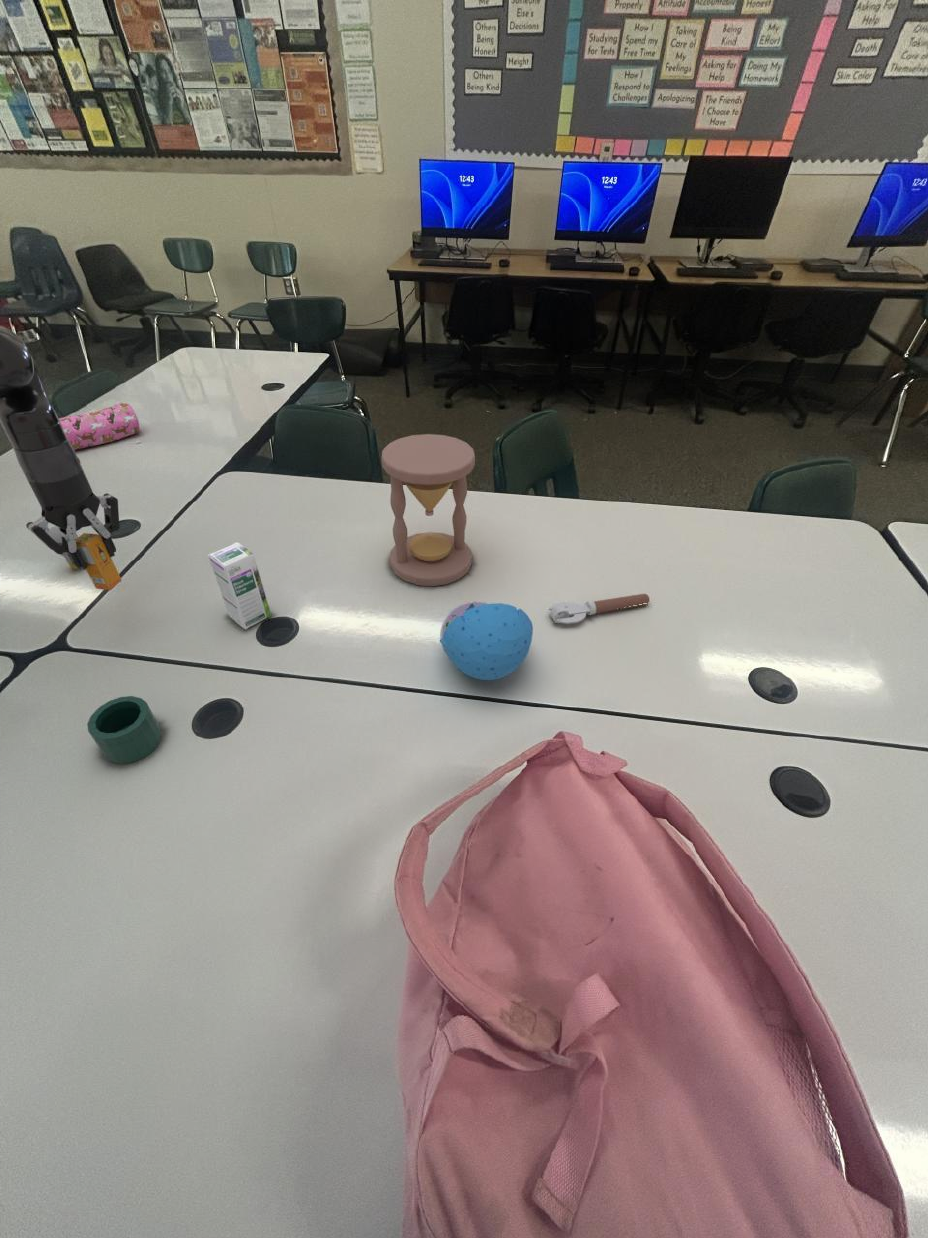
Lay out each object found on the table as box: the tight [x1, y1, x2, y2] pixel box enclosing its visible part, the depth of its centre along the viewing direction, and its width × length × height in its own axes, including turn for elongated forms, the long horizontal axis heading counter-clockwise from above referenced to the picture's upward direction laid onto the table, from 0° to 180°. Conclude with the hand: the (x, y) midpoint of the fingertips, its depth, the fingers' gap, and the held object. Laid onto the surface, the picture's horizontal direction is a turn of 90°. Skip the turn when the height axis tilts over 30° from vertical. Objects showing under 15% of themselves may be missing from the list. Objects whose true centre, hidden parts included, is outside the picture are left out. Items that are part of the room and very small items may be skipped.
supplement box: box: [76, 532, 123, 591], centre depth 98 cm, size 3×3×10 cm
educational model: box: [439, 601, 534, 681], centre depth 94 cm, size 16×19×15 cm
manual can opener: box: [548, 593, 650, 625], centre depth 109 cm, size 20×6×3 cm, turn 111°
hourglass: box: [381, 433, 476, 587], centre depth 113 cm, size 18×18×25 cm
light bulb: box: [47, 525, 80, 570], centre depth 114 cm, size 5×6×10 cm
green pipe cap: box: [87, 695, 162, 765], centre depth 83 cm, size 8×8×6 cm
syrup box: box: [207, 541, 272, 630], centre depth 102 cm, size 6×6×14 cm
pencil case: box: [58, 402, 141, 451], centre depth 162 cm, size 21×9×9 cm, turn 137°
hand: (96, 560), depth 98 cm, fingers closed on supplement box, 4 cm apart
